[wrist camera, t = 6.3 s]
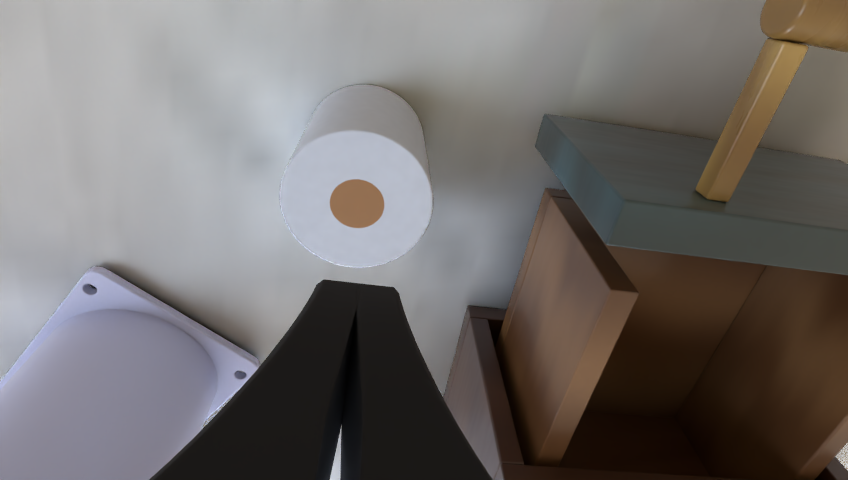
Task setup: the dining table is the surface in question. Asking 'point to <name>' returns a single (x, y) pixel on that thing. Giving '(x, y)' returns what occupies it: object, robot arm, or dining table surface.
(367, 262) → the paper towel roll
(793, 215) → the drawer
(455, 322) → the dining table surface
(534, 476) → the cabinet
